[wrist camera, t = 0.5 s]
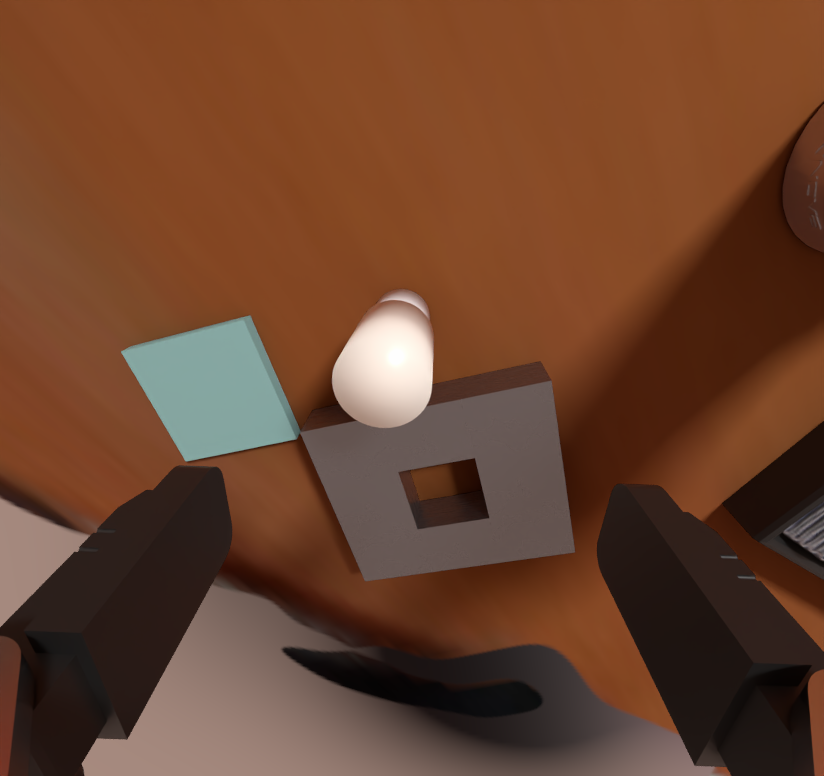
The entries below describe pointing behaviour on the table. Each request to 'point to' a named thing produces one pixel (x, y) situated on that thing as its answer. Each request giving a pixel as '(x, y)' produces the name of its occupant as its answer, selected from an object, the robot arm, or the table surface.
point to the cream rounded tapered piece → (387, 362)
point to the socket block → (443, 443)
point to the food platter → (788, 504)
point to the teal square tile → (214, 389)
